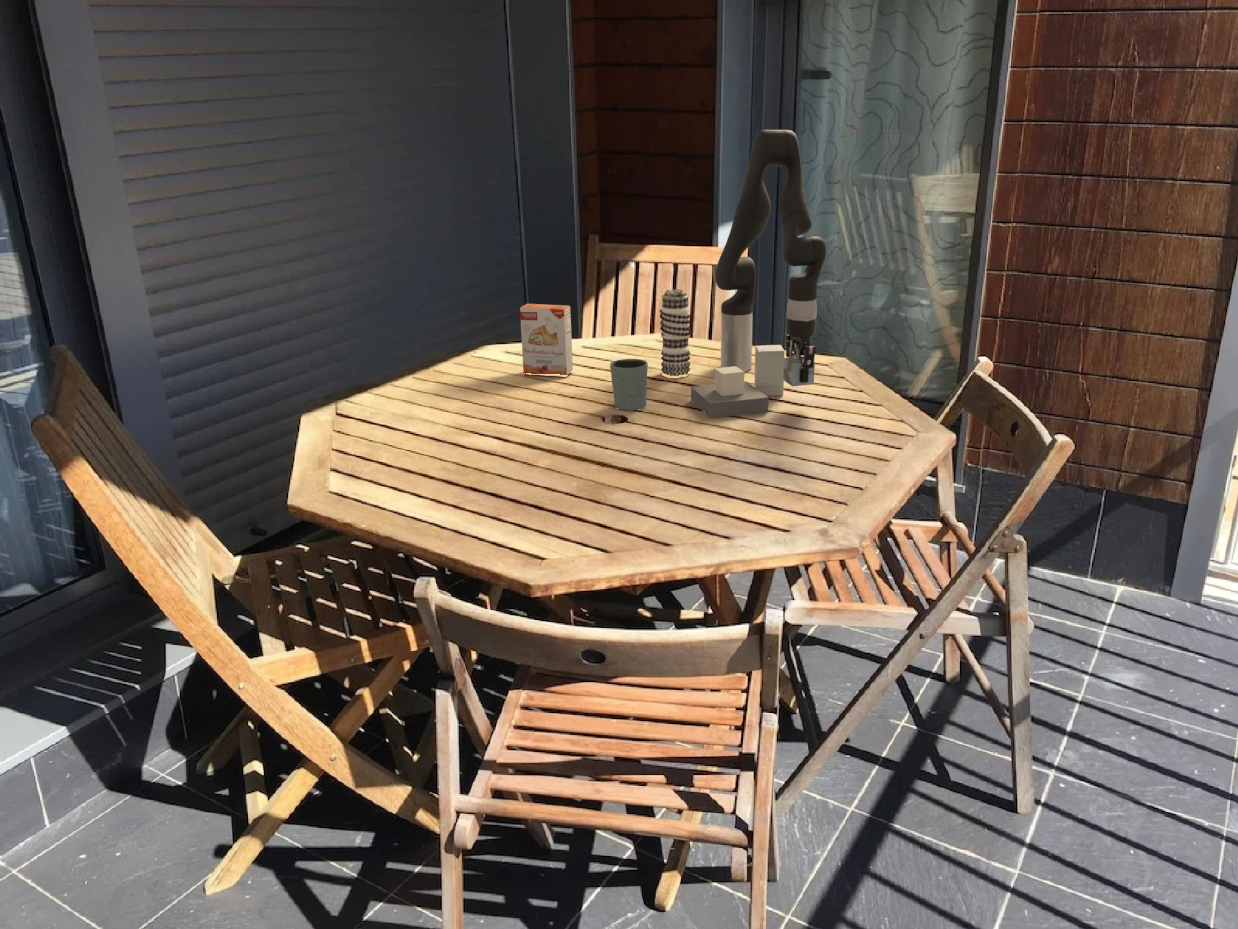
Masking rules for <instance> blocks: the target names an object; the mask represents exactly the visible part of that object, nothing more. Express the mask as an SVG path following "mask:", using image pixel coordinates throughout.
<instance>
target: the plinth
mask: <svg viewBox="0 0 1238 929" xmlns="http://www.w3.org/2000/svg"><path fill="white" fill-rule="evenodd" d="M769 398H770V397H769V396H766V395H765V394H763V393H762V392H761V391H759V390H758V389H756V388H755V385H753V384H751V383H750V382H748V381H744V394H738V395H728V396H722V395H720V394H719V393H718V392H717V391H715V384H709V385H705V384H704V385H695V386H690V401H691V400H692V401H693V402H694V403H693V402H692V401H691V402H692V403H693V404H694V405H695V406H696V405H697V406H698V407H699V408H700V409H699V408H698V407H697V406H696V407H697V408H698V409H699V410H701V411H702V412H703V411H704V412H705V413H704V412H703V413H704V415H706V414H707V415H706V416H707V417H708V416H709V418H710V419H712V418H711V417H716V418H725V417H733V416H742V415H743V416H744V415H750V414H752V415H753V414H754V415H755V414H761V413H768V412H769V404H770V403H769Z"/></svg>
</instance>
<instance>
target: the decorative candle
mask: <svg viewBox="0 0 1238 929" xmlns="http://www.w3.org/2000/svg"><path fill="white" fill-rule="evenodd" d="M661 298H662V300H661V302H662V304H661V305H662V306H661V309H660V310H659V311H658V312H659V313H660V314H659V318H660V322H659V325H660V328H659V329H660V331H661V333H660V337H661V338H662V345H661V346H662V347H661V349H662V350H661V352H660V353H661V354H660V355H661V358H660V359H661V360H662V361H661V363H660V365H661V369H660V371H661V372H663V373H664V374H667V375H670V376H679V375H684V374H689V373H688V372H690V371H691V368H690V367H691V362H690V359H691V356H690V354H691V351H690V345H689V338H690V336H691V332H689V331H690V330H691V327H690V326H689V325H690V324H691V322H692V321H691V320H690V318H692V315H691V314H689V311H690V306H689V298H690V294H688V293H687V292H686V290H684V289H679V288H675V289H668V290H666V291H665V292H664V294H663V295H661Z"/></svg>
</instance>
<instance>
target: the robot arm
mask: <svg viewBox="0 0 1238 929" xmlns="http://www.w3.org/2000/svg"><path fill="white" fill-rule="evenodd" d="M748 161H749V162H748V168H747V173H746V176H745V181H744V184H743V188H742V191H741V194H740V197H739V201H738V203H737V207H736V209H735V213H734V217H733V220H732V224H731V227H730V231H729V234H728V237H727V240H726V243H725V245H724V246H723V247H724V248H723V249H722V252H721V253H720V257H719V259H718V261H717V265H716V269H715V275H714V276H715V277H714V278H715V283H716V286H717V287H718V288H719V289H720V290H722V291H736V292H735V293H734V294H733V295H732V296H731V297H729V298H728V299H726V300H724V301H723V302H722V303H721V304H720V305H721V306H720V325H721V326H720V368H723V367H733V366H736V367H738V368H739V369H741V370H742V371H744V373H745V372H749V371H751V370H752V364H753V363H752V357H753V356H752V355H753V353H752V352H753V314H754V313H753V310H754V308H753V307H754V304H755V294H756V292H755V291H756V280H757V278H756V277H757V270H756V264H755V261H754V260H753V259H752V258H751V257H750V256H742V255H743V253H744V252H745V251H747V249H748V248H749V247H750V246H752V244H753V243H754V242H755V241H756V240H757V239H759V238H760V236H761V235H762V234H764V231H765V229H766V227H767V224H768V221H769V218H770V215H771V211H772V203H771V200H770V197H769V194H768V191H767V188H766V185H765V182H764V175H765V171H766V169H767V168H769V167H779V168H780V167H781V168H783V167H784V169H785V170H786V180H785V183H784V187H783V189H782V191H781V193H780V195H779V200H778V210H779V214H780V219H781V222H782V226H783V251H782V255H783V260H784V262H785V263H787V265H788V266H791V267H803V266H806V267H805V270H804V271H802V272H800V273H796V274H794V275H792V276H791V277H790V278H789V281H788V299H787V300H788V301H787V306H786V324H785V325H786V326H785V327H786V328H785V332H786V334H785V358H793V357H797V360H798V361H799V363H800V378H799V381H800V382H801V383H807V382H808V375H809V368H813V366H814V362H815V356H816V348H817V347H816V346H815V345H811V338H810V337H812V336H814V335H816V332H817V331H816V330H817V312H818V304H817V303H818V302H817V296H818V291H817V290H818V282H819V277H820V274H821V271H822V267H823V265H824V262H825V259H826V256H827V246H826V243H825V241H824V240H823V238H822V237H820V236H804V237H803V235H804V234H806V233H808V232H809V231H810V230H811V228H812V219H811V216H810V211H809V208H808V204H807V201H806V196H805V189H804V183H803V182H804V180H803V168H802V161H801V151H800V144H799V140H798V137H797V134H796V133H795V132H794V131H793V130H789V129H762V130H760V131H758V132H757V134H756V136H755V138H754V141H753V144H752V148H751V152H750V157H749V160H748ZM801 235H802V237H800V236H801ZM802 356H803V357H802ZM750 369H751V370H750ZM748 370H749V371H748Z"/></svg>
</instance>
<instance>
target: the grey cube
mask: <svg viewBox="0 0 1238 929" xmlns="http://www.w3.org/2000/svg"><path fill="white" fill-rule="evenodd" d="M803 356H804V355H803ZM803 356H802V357H803ZM815 366H816V361H814V366H813V368H809V375H808V382H807V383H801V382H800V381H799V378H800V363H799V361H798V360H797V357H793V358H789V357H784V374H783V380H784V383H785V382H786V383H787V384H788V385H790V387H802V386H810V385H811V386H812V385H814V384H815V370H816V368H815Z"/></svg>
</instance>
